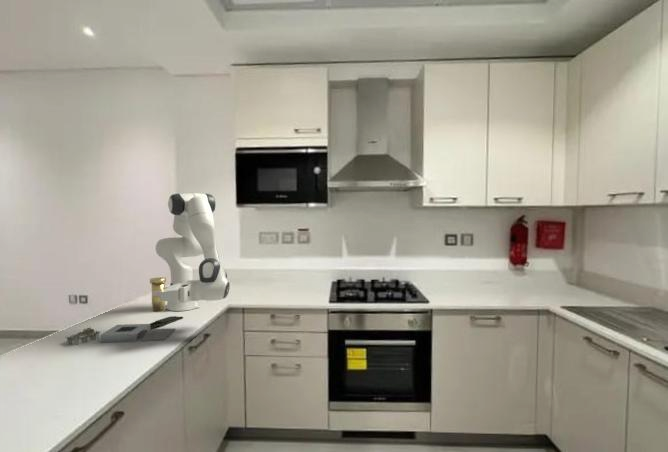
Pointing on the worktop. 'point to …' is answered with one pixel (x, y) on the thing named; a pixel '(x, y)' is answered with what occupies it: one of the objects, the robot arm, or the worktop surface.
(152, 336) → the mat
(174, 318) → the wood
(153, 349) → the worktop surface
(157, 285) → the round headed pin
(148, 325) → the housing
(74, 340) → the egg carton
